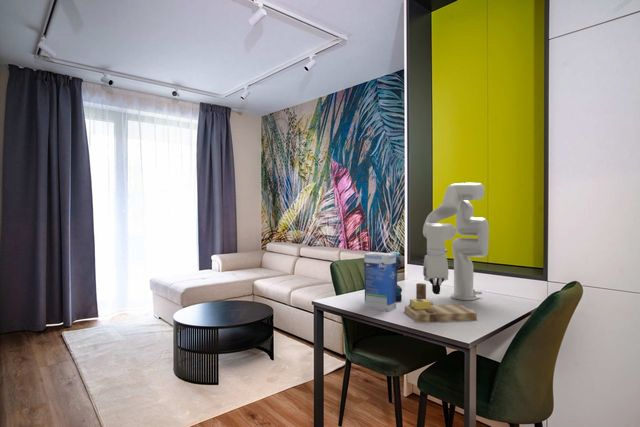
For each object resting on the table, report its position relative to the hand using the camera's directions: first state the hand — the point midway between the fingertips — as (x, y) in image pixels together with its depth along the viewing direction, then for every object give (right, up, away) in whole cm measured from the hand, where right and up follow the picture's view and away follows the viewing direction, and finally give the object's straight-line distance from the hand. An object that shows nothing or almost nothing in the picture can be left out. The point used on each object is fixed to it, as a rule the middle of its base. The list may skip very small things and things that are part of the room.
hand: (436, 293), depth 159 cm
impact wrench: (-14, -9, +26) cm, 30 cm away
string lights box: (-24, -9, +8) cm, 27 cm away
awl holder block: (-4, -9, +11) cm, 14 cm away
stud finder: (-7, -6, -1) cm, 9 cm away
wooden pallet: (0, -9, -4) cm, 10 cm away
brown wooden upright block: (-4, -8, +11) cm, 14 cm away
